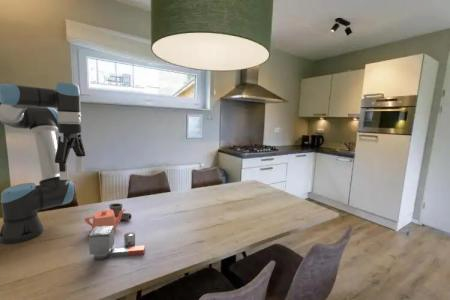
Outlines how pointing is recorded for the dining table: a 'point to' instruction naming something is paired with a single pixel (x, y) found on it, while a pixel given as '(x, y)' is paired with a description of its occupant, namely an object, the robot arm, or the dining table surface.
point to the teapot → (104, 219)
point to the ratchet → (121, 252)
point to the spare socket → (129, 239)
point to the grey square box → (101, 240)
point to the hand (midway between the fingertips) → (72, 175)
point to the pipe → (117, 209)
